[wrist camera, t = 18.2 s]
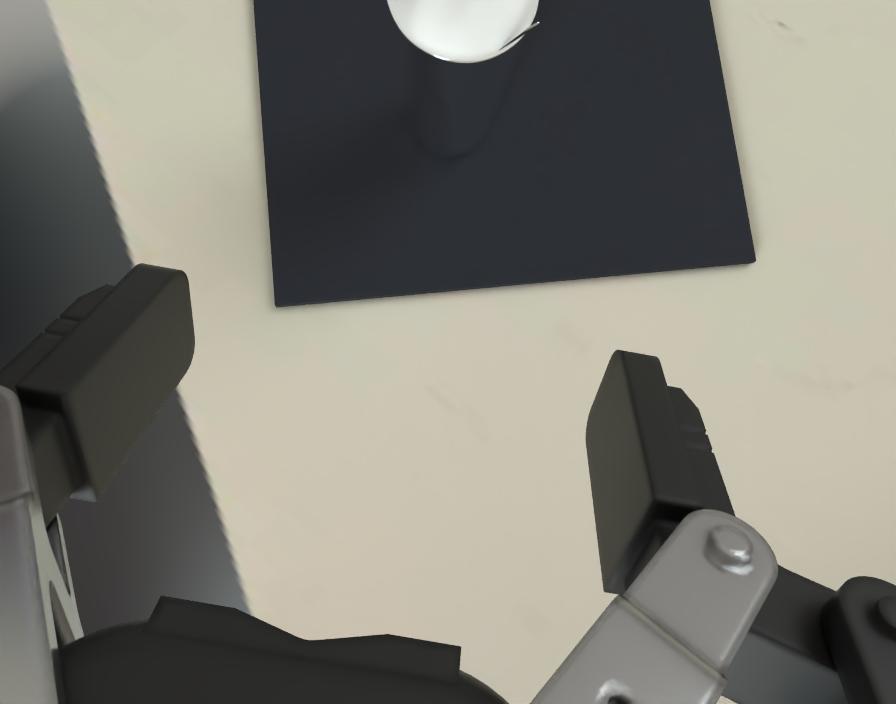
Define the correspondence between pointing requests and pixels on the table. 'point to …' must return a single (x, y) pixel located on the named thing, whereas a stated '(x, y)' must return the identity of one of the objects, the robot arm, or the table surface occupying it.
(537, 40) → the mouse pad
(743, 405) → the table surface
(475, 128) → the milkshake
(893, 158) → the table surface
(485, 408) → the table surface
